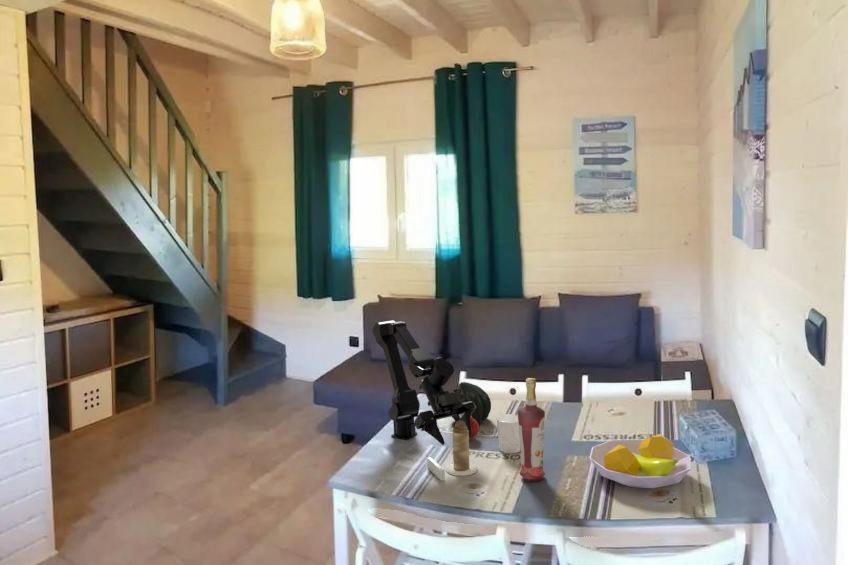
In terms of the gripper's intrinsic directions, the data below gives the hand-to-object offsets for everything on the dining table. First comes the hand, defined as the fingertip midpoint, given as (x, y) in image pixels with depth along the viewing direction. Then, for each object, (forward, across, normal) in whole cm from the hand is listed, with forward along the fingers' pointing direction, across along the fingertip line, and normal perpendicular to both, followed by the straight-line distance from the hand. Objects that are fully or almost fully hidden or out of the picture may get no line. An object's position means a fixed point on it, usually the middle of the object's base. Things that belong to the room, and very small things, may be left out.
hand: (457, 440), depth 188 cm
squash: (-15, +25, +27) cm, 40 cm away
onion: (-5, +16, +17) cm, 24 cm away
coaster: (+7, 0, +4) cm, 8 cm away
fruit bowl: (+30, +36, -20) cm, 51 cm away
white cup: (+5, +20, +7) cm, 22 cm away
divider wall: (+6, -8, +5) cm, 11 cm away
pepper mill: (+7, 0, +4) cm, 8 cm away
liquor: (+18, +13, -7) cm, 23 cm away
